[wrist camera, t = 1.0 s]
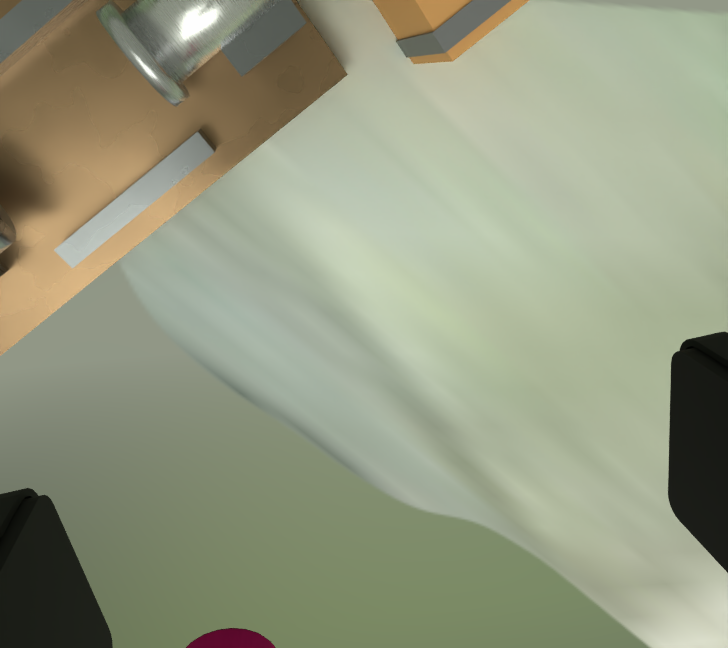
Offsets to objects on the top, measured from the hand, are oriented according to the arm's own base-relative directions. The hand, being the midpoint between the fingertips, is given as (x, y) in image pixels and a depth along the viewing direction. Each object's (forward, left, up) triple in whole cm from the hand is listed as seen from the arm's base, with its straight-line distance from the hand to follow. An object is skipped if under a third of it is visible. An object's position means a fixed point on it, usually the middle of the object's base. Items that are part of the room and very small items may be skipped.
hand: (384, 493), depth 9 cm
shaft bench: (+5, -8, -22) cm, 24 cm away
